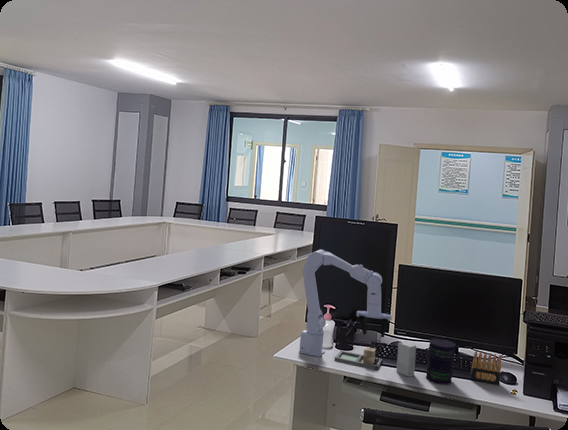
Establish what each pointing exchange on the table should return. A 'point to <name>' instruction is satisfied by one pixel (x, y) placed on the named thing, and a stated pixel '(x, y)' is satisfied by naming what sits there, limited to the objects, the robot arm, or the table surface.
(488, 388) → the table surface
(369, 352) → the birch plug
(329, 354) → the table surface
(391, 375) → the table surface
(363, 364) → the slot holder
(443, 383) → the storage jar
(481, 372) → the ammunition clip
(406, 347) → the skincare box
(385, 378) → the table surface
